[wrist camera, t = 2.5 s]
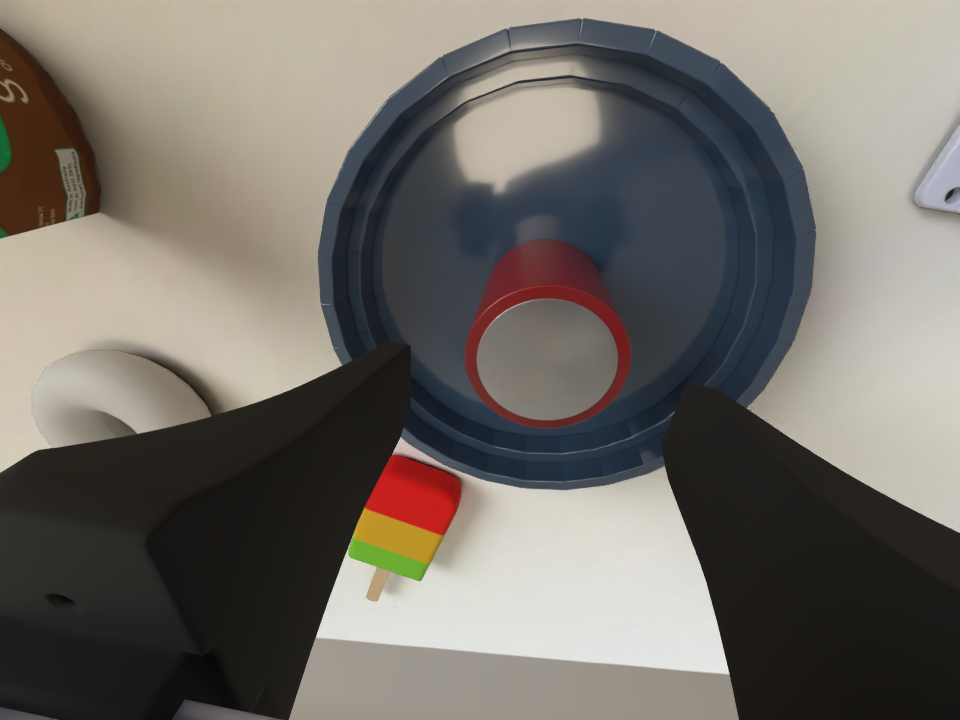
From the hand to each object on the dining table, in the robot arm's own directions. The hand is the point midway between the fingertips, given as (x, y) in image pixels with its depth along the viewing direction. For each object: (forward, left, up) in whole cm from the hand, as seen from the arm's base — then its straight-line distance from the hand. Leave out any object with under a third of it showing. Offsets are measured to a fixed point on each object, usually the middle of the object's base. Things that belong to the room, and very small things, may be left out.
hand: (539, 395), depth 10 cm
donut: (+22, +12, -9) cm, 26 cm away
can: (0, 0, -8) cm, 8 cm away
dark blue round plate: (0, 0, -8) cm, 9 cm away
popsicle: (+6, +19, -9) cm, 22 cm away
